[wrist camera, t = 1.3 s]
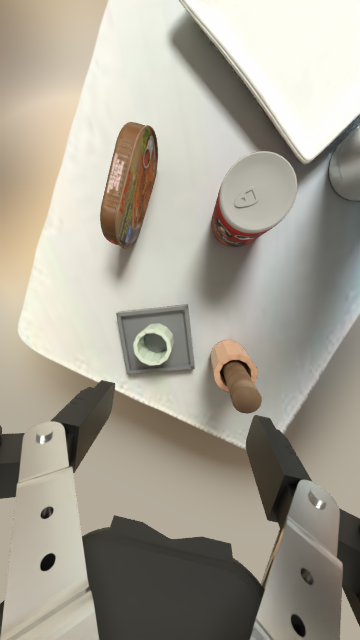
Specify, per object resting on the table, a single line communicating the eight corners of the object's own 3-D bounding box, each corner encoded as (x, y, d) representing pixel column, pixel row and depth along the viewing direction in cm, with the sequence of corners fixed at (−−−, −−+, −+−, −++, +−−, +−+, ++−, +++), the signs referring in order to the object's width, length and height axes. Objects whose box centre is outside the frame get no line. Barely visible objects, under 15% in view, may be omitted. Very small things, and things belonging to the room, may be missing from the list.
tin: (133, 252, 34) (114, 243, 26) (116, 245, 34) (91, 235, 26) (162, 153, 31) (151, 107, 23) (143, 146, 31) (124, 97, 23)
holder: (171, 322, 35) (168, 327, 31) (175, 354, 36) (173, 363, 32) (137, 325, 35) (130, 331, 31) (143, 357, 36) (136, 366, 32)
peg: (236, 347, 35) (260, 386, 23) (238, 365, 36) (262, 412, 23) (218, 349, 36) (231, 388, 23) (219, 366, 36) (233, 414, 23)
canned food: (201, 220, 32) (204, 190, 21) (242, 182, 31) (268, 130, 20) (231, 258, 33) (249, 248, 22) (272, 223, 32) (313, 194, 21)
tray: (187, 304, 35) (187, 305, 33) (194, 364, 37) (194, 368, 35) (120, 311, 36) (116, 313, 34) (130, 369, 38) (127, 374, 36)
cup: (243, 338, 35) (255, 352, 29) (245, 370, 36) (257, 391, 30) (209, 341, 36) (212, 356, 29) (212, 373, 37) (216, 394, 30)
